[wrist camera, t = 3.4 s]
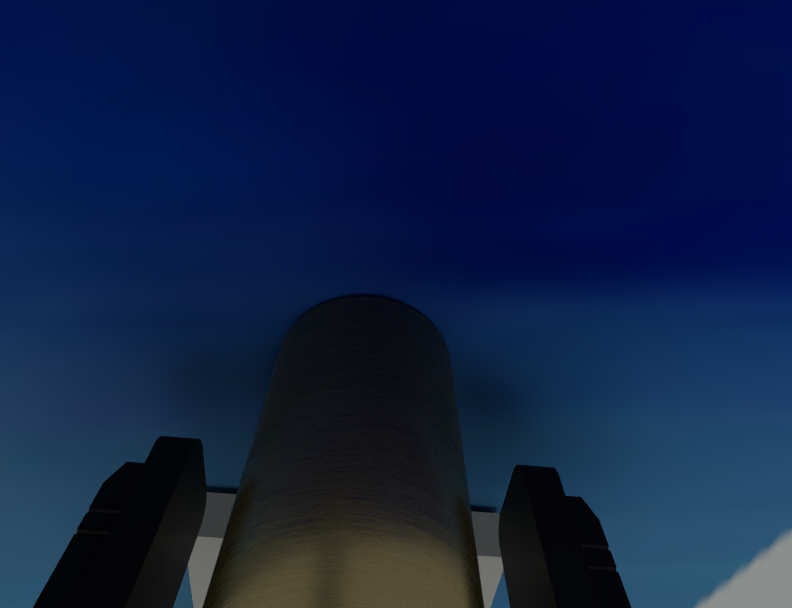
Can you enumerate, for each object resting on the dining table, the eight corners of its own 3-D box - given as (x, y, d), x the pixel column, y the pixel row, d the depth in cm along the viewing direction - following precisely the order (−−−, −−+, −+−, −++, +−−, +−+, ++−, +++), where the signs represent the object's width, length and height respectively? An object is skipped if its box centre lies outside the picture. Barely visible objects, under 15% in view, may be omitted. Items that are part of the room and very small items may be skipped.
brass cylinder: (278, 287, 13) (60, 887, 5) (464, 305, 13) (583, 904, 5) (278, 427, 15) (131, 1003, 7) (437, 440, 16) (486, 1011, 7)
